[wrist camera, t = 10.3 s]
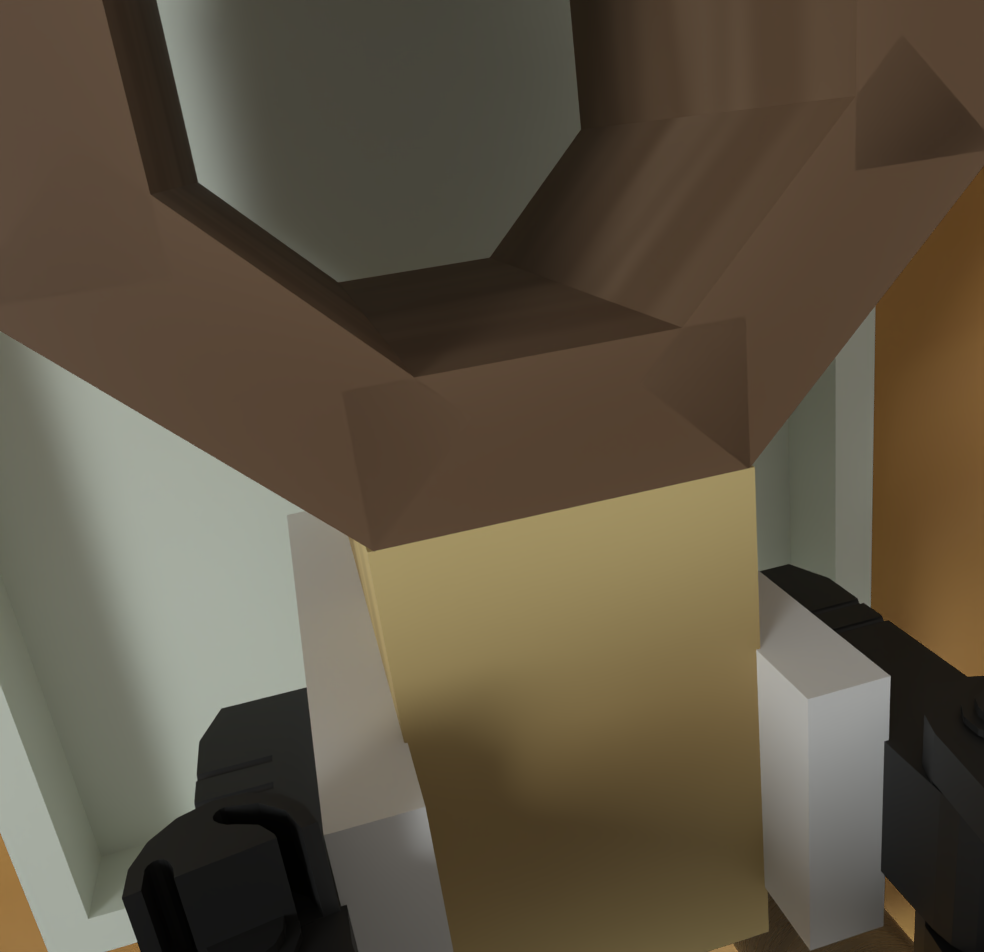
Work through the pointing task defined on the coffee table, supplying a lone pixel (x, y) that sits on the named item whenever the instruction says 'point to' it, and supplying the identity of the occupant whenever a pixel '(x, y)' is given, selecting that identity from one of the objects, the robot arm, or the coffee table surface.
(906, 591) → the coffee table surface
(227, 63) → the tray
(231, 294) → the brown octagonal handled piece
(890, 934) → the cylinder
